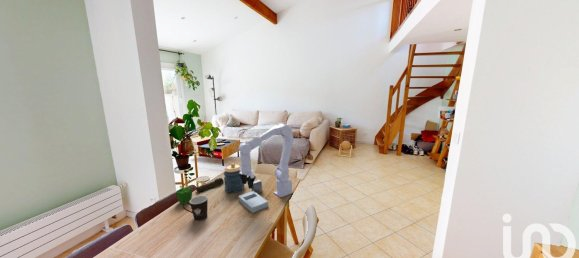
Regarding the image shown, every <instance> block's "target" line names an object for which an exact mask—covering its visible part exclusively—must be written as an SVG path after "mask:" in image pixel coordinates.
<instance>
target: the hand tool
mask: <svg viewBox="0 0 579 258" xmlns="http://www.w3.org/2000/svg"><path fill="white" fill-rule="evenodd" d="M222 184H225V182H224V178H222V177H219V178H216V179H214V180H213V181H211V182H208V183H206V184H203V185H200V186H196V187H195V191H196V192H197V193H198V194H199V193H200V192H203V191H205V190H209V189H210V188H213V187H218V186H221V185H222Z"/></svg>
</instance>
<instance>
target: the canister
mask: <svg viewBox="0 0 579 258" xmlns="http://www.w3.org/2000/svg"><path fill="white" fill-rule="evenodd" d="M239 168H241V165H239V164H235V163H234V162H232V163H230V165H228V166H225V168H224V169H223V170H224V171H223V173H222V175H224V176H223V180H224V190H225V192H227V193H239V192H241V191H243V190H244V189H245V185H246V184H244V185H243V183H242V180H241V178H240V176H239V174H238V173H240V169H239Z"/></svg>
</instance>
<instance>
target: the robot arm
mask: <svg viewBox="0 0 579 258" xmlns="http://www.w3.org/2000/svg"><path fill="white" fill-rule="evenodd" d="M275 135H276V136H282V138H283V139H284V141H283V145H282V150H281V154H280V155H281V156H280V160H279V164H277V167H276V168H275V170H274V175H275V177H276V178H275V182H276V183H275V184H276V188H275V189H276V191H273V194H275V195H276V196H277V197H280V198H283V197H286V196H288V195H290V194H293V193H294V192H293V182H292V180H291V178H290V173H289V172H290V170H289V162H290V158H291V154H292V153H291V152H292V149H293V148H292V147H293V143H294V135H293V129H292V128H291V127H290V126H289V125H288V124H287V125H286V124H284V123H282V122H281V123H280V122H279V123H278V124H276V125H273V126H272V127H271V128H270V129H268V130H266V131H265V132H264V133H262V134H261V135H253V136H252V137H251V138H250V139H248V140H245V141H244V142H241V143H240V144H239V146H238V151H239V158H240V166H241V168H239V169H240V173H238V174H239V176H240V178H241V180H242V183H243V185H247V186H248V189H249V190H250V189H251V188H253V184H254V181H256V179H257V176H256V175H255V174H254V172H253V170H252V159H251V152H252V151H253V150H254V149H256V148H258V147H259V146H261V145H262V143H263V142H264V141H265V140H267V139H269V138H271V137H273V136H275ZM251 190H252V189H251Z"/></svg>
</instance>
